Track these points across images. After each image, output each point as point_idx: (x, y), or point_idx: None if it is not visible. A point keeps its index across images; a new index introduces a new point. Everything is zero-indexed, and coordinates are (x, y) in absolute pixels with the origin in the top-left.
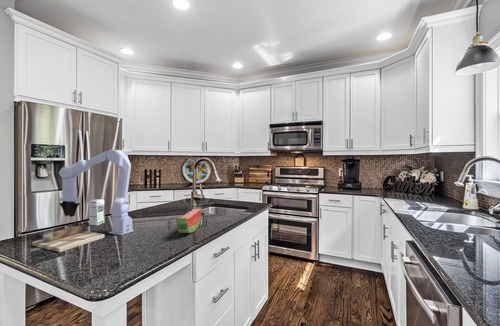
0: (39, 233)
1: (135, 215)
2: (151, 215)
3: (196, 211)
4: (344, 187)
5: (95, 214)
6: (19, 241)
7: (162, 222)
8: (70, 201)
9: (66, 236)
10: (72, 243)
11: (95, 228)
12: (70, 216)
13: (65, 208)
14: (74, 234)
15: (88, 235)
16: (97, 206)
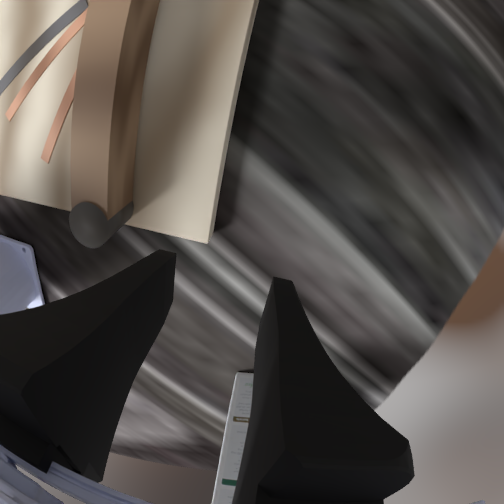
0: (497, 183)
1: (204, 465)
2: (143, 456)
3: None
4: None
5: (238, 434)
6: (469, 5)
7: None
8: (71, 490)
9: None
10: (3, 22)
11: (187, 323)
12: (157, 251)
13: (271, 377)
14: None
15: (27, 148)
16: (215, 487)
